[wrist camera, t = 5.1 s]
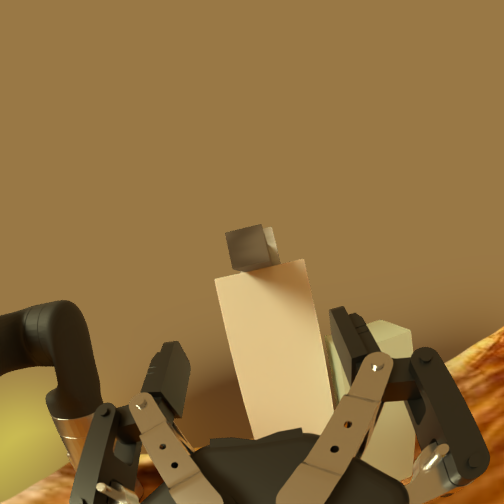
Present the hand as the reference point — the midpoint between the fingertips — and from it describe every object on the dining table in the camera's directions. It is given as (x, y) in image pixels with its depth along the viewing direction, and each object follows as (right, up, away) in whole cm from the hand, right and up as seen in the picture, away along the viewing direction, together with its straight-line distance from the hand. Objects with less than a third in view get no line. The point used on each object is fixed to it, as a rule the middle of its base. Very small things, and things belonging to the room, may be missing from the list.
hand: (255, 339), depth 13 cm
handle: (+1, +3, +17) cm, 17 cm away
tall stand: (+8, -29, +17) cm, 34 cm away
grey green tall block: (+17, -26, +12) cm, 33 cm away
